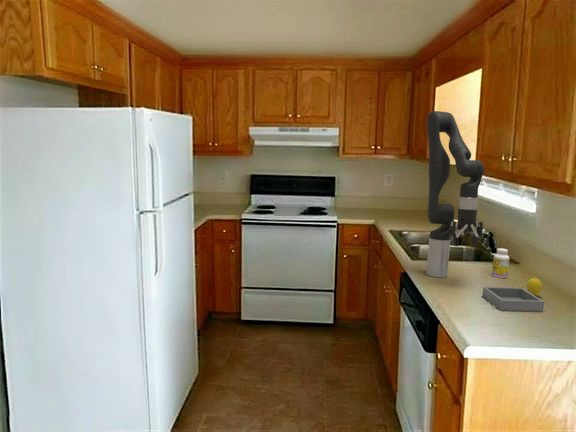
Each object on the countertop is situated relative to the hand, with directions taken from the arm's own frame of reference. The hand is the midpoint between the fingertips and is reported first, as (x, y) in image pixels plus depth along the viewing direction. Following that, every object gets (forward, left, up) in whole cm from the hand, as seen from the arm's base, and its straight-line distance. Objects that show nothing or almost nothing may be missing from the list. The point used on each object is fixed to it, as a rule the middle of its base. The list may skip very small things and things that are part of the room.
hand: (465, 246), depth 205 cm
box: (+21, +12, -18) cm, 30 cm away
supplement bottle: (-17, +25, -18) cm, 35 cm away
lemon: (+11, +26, -18) cm, 33 cm away
